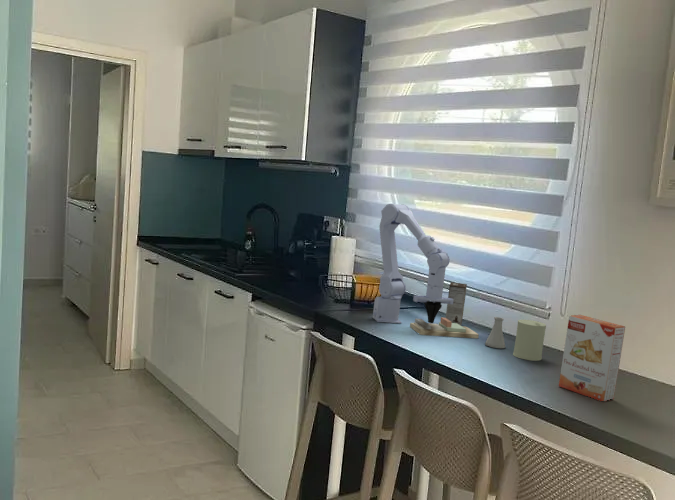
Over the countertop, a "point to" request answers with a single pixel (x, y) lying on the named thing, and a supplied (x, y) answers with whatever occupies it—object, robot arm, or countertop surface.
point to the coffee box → (456, 302)
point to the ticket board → (439, 330)
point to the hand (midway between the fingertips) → (430, 322)
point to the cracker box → (591, 357)
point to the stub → (451, 326)
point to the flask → (496, 335)
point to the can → (529, 340)
